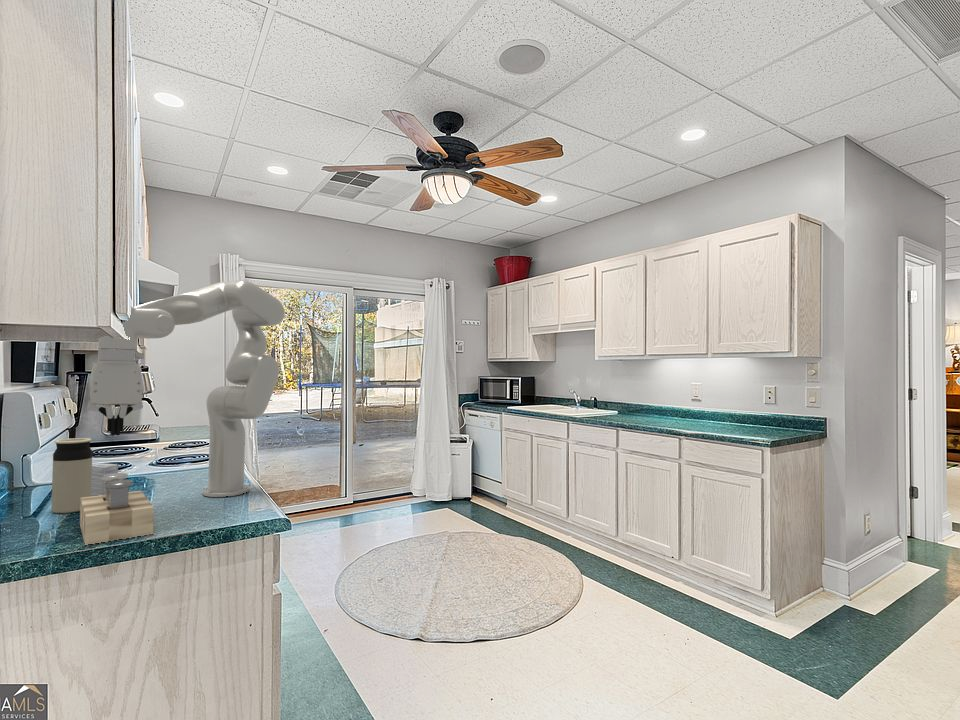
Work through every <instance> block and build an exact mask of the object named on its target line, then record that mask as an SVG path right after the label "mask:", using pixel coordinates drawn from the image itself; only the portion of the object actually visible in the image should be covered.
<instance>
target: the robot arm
mask: <svg viewBox="0 0 960 720" xmlns="http://www.w3.org/2000/svg"><path fill="white" fill-rule="evenodd" d="M130 307H131V315H130V318H129V320H128V321H125V322H123V323H122V324H123V327H124V331H125V334H126V336H128V338H129V337H130V340H129V339H128V340H127V339H115V338H111V337H109V336H104V337H101V338H99V337H98V341H97V342H98V343H97V344H98V348H97V349H98V350H97V362H94V363H93V364H92V367H91V368H92V369H91V373H90V377H89V378H90V379H89V390H88V391H89V392H88V401H89V402H88V405H87V410H88V411H92V412H98V413H101V414H102V415H103V416H105V417H106V418H107V421H106V422H107V424H106V425H107V426H106V432H107V433H110V434H109V435H110V436H112V437H114V436H121V432H123V431H124V418H126V416H128V414H130V413H131V412H133V411H134V412H135V411H136V410H141V409H143V408H144V405H143V402H142V400H143V382H142V381H143V378H142V370H141V364H140V363H137V362H138V360H140V359H141V360H142V359H144V357H145V354H144V353H143V352H139V351H138V339H162V338H166V337H167V336H169V335H171V334H172V333H173V332H174V330H175V326H181V325H189V324H190V325H191V324H195V323H199V322H203V321H206V320H208V319H211V318H213V317H215V316H218V315H221V314H223V313H226V312H228V311H232V312H231V313H232V319H233V321H234V324H235V326H236V328H237V332H238V341H237V343H236V346H235V348H234V350H233V353H232V355H231V357H230V359H229V362H228V363H227V366H226V369H225V377H226V380H227V381H228V382H230V383H231V384H233V385H224V386H218V387H216V388H214V389H212V390H211V391H210V392H209V394H208V395H207V398H206V410H207V411H206V412H207V415H208V422H209V445H208V446H209V447H208V448H209V449H208V451H209V453H208V487H205V488H203V489H202V491H201V495H203V496H204V497H209V498H225V497H226V496H228V497H235V496H239V495H243V493H244V494H247V493H249V492H250V486H249V485H247V484H245V462H246V461H245V459H246V458H245V457H246V456H245V455H246V428H245V425H244V424H243V421H242V420H255V419H256V420H257V419H258V418H260V417H261V416H262V415H264V413H265V412H266V409H267V407H268V405H269V403H270V401H271V397H272V396H273V392H274V391H275V387H276V385H277V383H278V380H279V374H280V368H279V364H278V362H277V360H276V359H275V358H274V357H272V356H271V355H269V354H265V353H266V351H267V347H268V340H267V337H266V335H265V333H264V331H263V329H262V327H272V326H277V325H279V324H281V323H282V322H283V320H284V319H285V314H286V313H285V307H284V305H283V304H282V303H281V301H280V300H279V299H277V297H275V296H273V295H272V294H270V293H269V292H267V291H266V290H264V289H263V288H262V287H260V286H258V285H256V284H254V283H253V282H251V281H248V280H228V281H227V280H226V281H220V282H219V281H218V282H216V283H213V284H210V285H207V286H203V287H201V288H197V289H194V290H191V291H187V292H184V293H180V294H175V295H172V296H169V297H168V296H167V297H165V298H162V299H157V300H153V301H148V302H145V303H142V304H139V305H136V306H130ZM235 385H236V386H235ZM113 406H119V409H118V414H117V415H116V417H115V415H114V413H113ZM246 492H247V493H246ZM226 498H227V497H226Z"/></svg>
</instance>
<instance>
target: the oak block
mask: <svg viewBox="0 0 960 720" xmlns="http://www.w3.org/2000/svg"><path fill="white" fill-rule="evenodd" d="M154 512H155V507H154V505H153V504H152V503H151V502H150V500H149V499H148V497H147V496H146V495H145V494H144V492H142V490H135V491H134V490H133V491H129V493H128V508H121V509H114V510H109V500H108V501H105V495H99V496H91V497H82V498H80V511H79V526H80V530H81V531H80V532H81V534H82V539H83V543H85V544H84V546H85V545H87V546H89V545H88V544H93V545H96V544H95V543H99V544H102V543H101V542H105V543H109V542H108V541H111V542H115V541H114V540H117V541H120V540H119V539H123V540H126V539H125V538H129V539H131V538H130V537H135V538H138V537H137V536H141V537H145V536H144V535H147V536H150V535H149V534H153V535H154V518H155V517H154V516H155V513H154Z"/></svg>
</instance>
